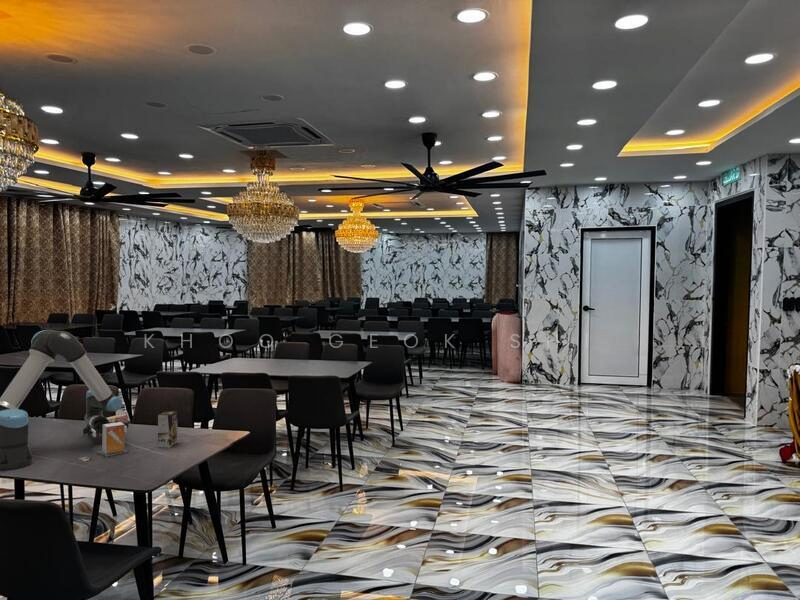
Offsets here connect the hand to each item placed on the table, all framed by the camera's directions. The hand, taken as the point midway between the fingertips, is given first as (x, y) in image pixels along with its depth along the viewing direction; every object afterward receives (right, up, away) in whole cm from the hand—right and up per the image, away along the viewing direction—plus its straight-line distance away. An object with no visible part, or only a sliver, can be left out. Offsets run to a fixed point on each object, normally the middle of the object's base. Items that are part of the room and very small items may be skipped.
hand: (110, 431), depth 271 cm
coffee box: (+23, -9, +10) cm, 27 cm away
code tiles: (-4, -9, -14) cm, 17 cm away
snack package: (-21, -8, +39) cm, 45 cm away
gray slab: (+3, -9, -4) cm, 10 cm away
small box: (+4, -9, -4) cm, 10 cm away
